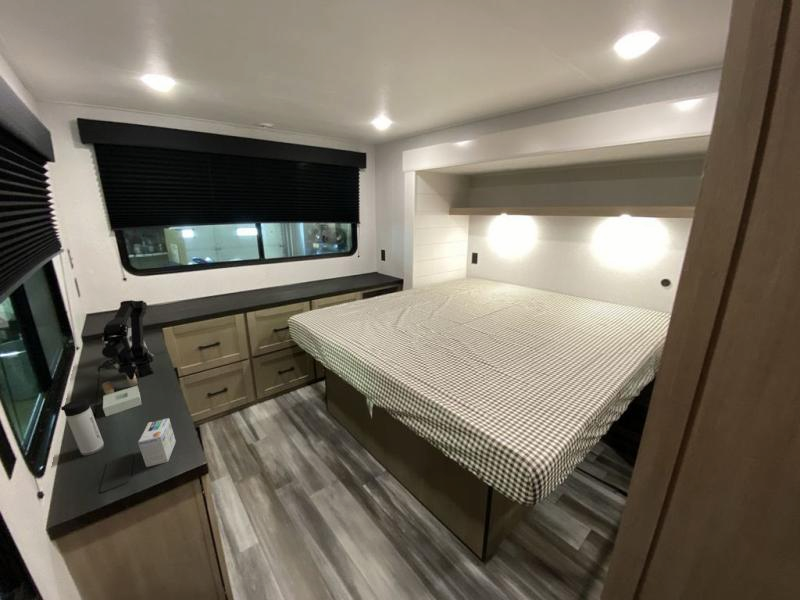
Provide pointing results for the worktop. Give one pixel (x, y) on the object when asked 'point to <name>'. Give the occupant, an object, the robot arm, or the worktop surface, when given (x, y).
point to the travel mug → (83, 426)
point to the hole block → (121, 400)
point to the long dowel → (132, 381)
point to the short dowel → (108, 388)
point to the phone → (117, 473)
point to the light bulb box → (157, 442)
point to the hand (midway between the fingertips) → (131, 377)
